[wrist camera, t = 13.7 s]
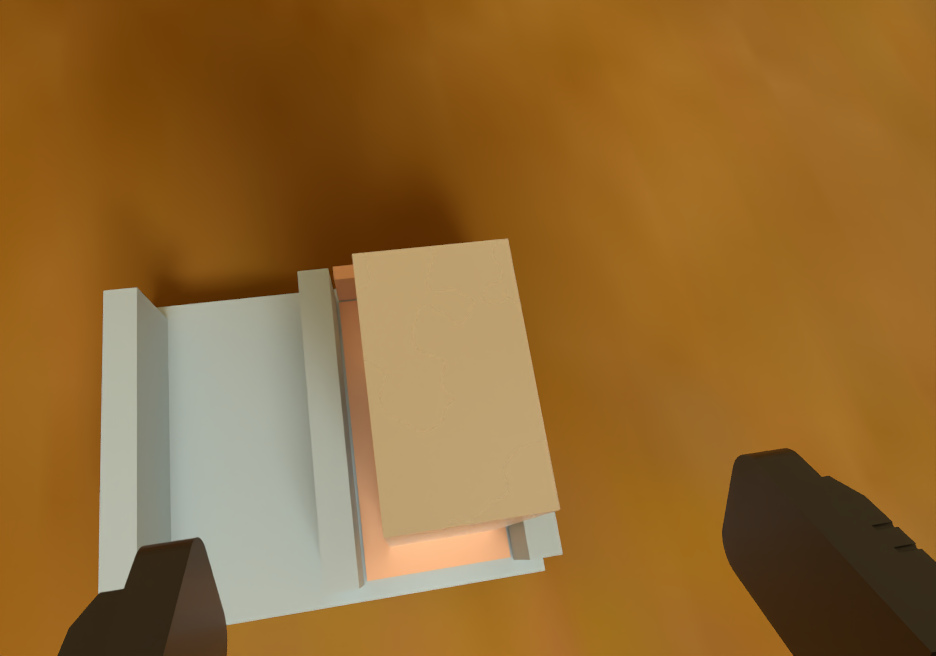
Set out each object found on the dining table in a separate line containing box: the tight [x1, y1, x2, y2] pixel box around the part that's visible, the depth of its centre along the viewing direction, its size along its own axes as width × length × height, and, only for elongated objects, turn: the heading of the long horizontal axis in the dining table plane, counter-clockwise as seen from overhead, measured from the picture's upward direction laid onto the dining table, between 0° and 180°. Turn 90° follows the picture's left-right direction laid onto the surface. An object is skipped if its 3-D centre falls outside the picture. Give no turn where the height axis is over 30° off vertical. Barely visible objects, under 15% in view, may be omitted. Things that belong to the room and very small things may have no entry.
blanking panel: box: [352, 239, 560, 547], centre depth 19 cm, size 6×4×10 cm, turn 9°
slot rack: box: [98, 265, 563, 625], centre depth 22 cm, size 11×13×4 cm
